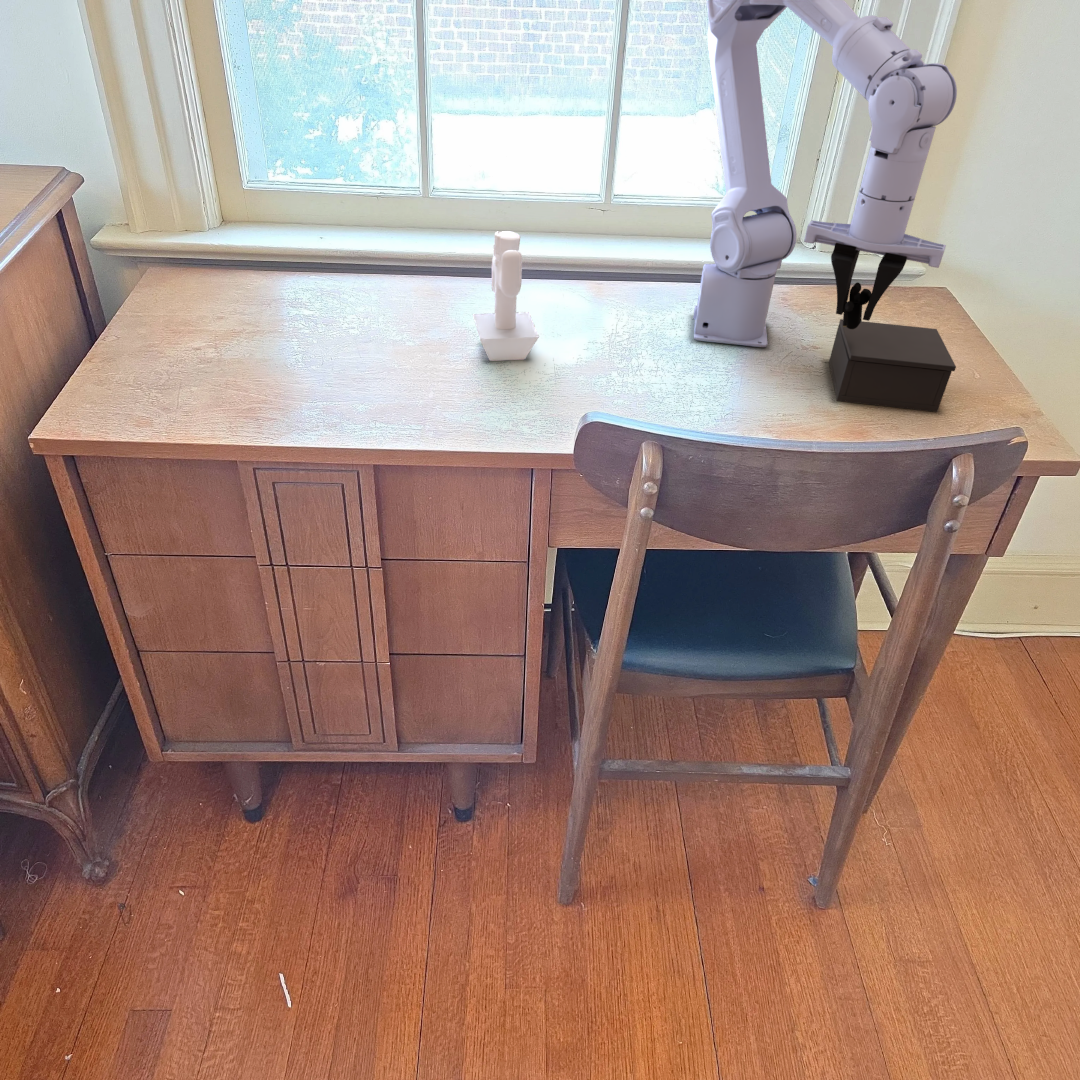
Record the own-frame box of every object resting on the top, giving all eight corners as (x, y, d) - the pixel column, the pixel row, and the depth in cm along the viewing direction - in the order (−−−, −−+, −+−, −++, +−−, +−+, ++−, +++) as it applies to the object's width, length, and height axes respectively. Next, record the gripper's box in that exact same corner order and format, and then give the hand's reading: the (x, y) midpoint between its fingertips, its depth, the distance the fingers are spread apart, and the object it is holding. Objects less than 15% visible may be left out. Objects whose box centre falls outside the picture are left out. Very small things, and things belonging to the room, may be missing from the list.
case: (937, 412, 105) (951, 371, 102) (836, 401, 106) (848, 360, 103) (922, 372, 113) (935, 333, 110) (828, 362, 114) (838, 323, 111)
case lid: (954, 371, 101) (956, 366, 101) (849, 360, 102) (851, 355, 102) (935, 333, 110) (936, 328, 109) (838, 323, 111) (840, 318, 110)
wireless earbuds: (851, 321, 108) (853, 278, 106) (873, 321, 107) (875, 278, 105) (840, 334, 102) (843, 289, 100) (863, 334, 101) (866, 289, 99)
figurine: (526, 334, 117) (530, 219, 107) (539, 368, 109) (545, 247, 100) (471, 337, 115) (470, 220, 106) (480, 371, 108) (481, 249, 99)
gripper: (962, 195, 95) (923, 315, 104) (826, 172, 100) (799, 289, 108) (955, 213, 90) (915, 338, 99) (812, 189, 95) (785, 310, 103)
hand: (854, 314), depth 103 cm, fingers closed on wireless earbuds, 2 cm apart
